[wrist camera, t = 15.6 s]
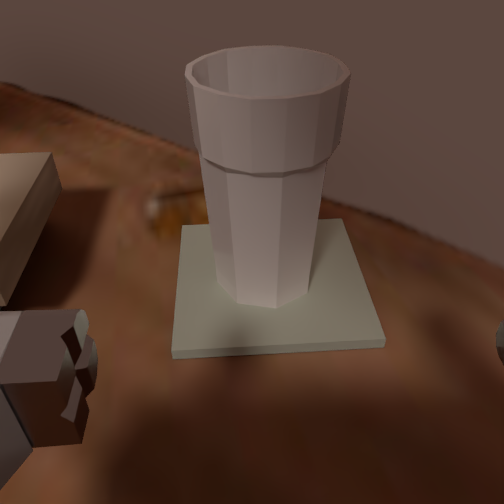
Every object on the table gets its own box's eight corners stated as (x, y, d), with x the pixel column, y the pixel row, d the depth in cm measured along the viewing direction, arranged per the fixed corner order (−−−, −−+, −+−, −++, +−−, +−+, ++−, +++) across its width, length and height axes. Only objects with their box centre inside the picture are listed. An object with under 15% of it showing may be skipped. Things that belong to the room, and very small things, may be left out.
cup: (248, 225, 30) (244, 37, 23) (346, 263, 27) (375, 60, 20) (178, 286, 26) (149, 77, 19) (286, 338, 23) (297, 113, 16)
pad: (172, 359, 23) (171, 350, 22) (183, 233, 30) (182, 225, 30) (383, 347, 23) (386, 338, 23) (340, 226, 31) (341, 218, 30)
